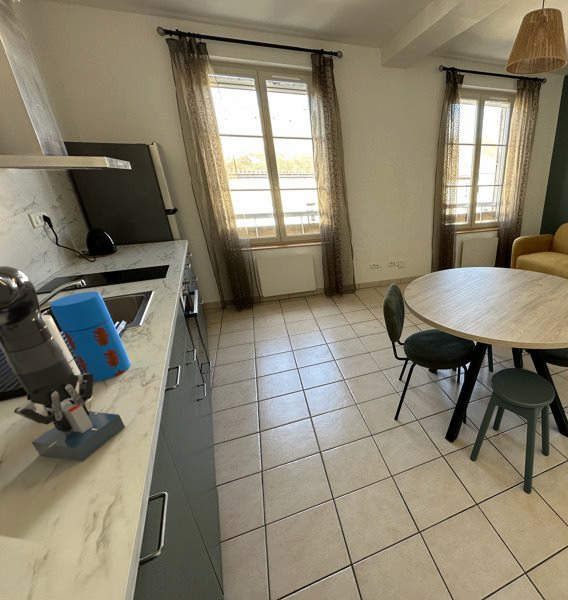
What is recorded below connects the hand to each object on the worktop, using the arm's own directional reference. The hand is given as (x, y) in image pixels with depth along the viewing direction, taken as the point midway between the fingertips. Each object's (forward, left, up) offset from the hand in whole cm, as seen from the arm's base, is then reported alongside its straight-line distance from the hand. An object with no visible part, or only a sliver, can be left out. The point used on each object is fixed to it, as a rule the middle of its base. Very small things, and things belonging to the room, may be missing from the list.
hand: (75, 424), depth 75 cm
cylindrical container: (-17, +11, -5) cm, 21 cm away
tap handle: (0, 0, -1) cm, 1 cm away
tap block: (0, 0, -5) cm, 5 cm away
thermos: (-22, +25, -5) cm, 34 cm away
